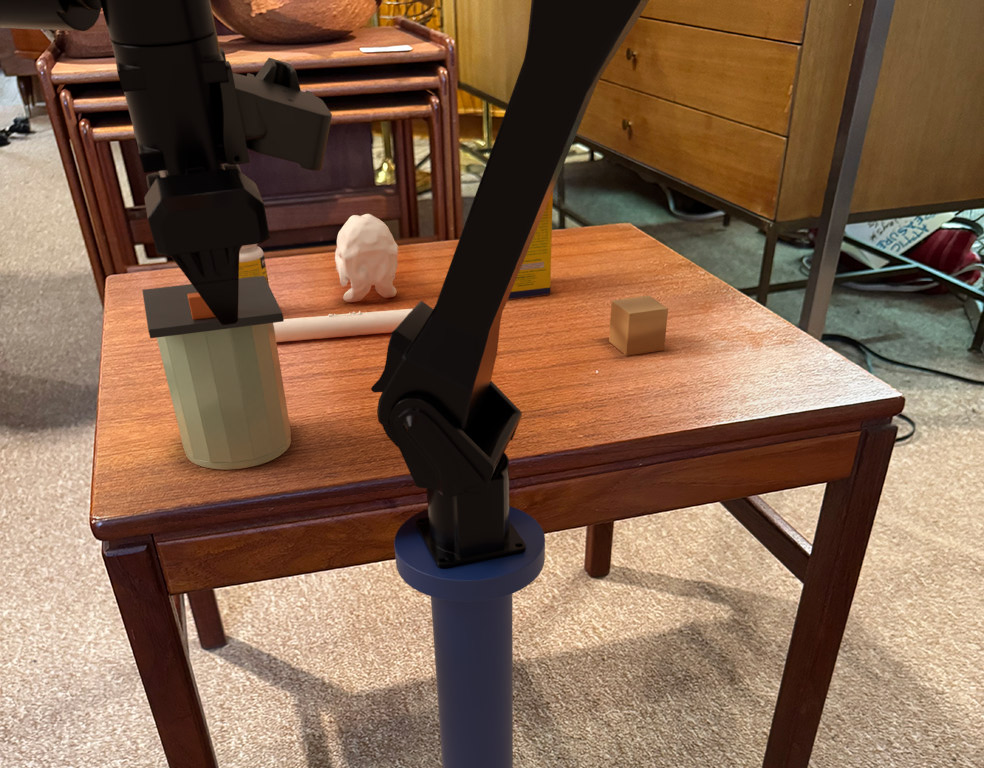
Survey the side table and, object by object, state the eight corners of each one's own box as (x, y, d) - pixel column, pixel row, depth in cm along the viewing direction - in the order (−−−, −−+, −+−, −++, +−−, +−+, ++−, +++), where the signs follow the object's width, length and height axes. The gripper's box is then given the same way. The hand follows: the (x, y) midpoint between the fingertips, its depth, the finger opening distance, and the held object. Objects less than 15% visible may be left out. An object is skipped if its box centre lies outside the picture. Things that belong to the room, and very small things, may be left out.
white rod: (441, 324, 96) (439, 300, 94) (444, 331, 94) (443, 307, 93) (263, 339, 93) (259, 315, 92) (263, 346, 92) (259, 322, 90)
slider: (284, 321, 65) (279, 290, 64) (150, 338, 63) (142, 307, 61) (265, 283, 72) (260, 254, 70) (144, 297, 69) (136, 268, 68)
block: (664, 350, 89) (668, 308, 87) (626, 356, 88) (629, 313, 86) (645, 336, 92) (649, 295, 90) (608, 341, 91) (611, 300, 89)
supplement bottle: (278, 317, 98) (265, 232, 93) (234, 324, 97) (217, 238, 91) (266, 303, 102) (253, 221, 96) (223, 310, 100) (207, 227, 95)
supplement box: (483, 284, 105) (481, 178, 99) (533, 279, 107) (534, 173, 100) (499, 301, 101) (498, 191, 94) (551, 295, 102) (554, 186, 96)
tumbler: (299, 459, 73) (277, 317, 66) (189, 477, 71) (154, 333, 64) (282, 416, 79) (260, 282, 72) (181, 431, 77) (148, 296, 70)
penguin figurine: (337, 221, 94) (316, 206, 104) (348, 309, 99) (327, 287, 108) (398, 215, 96) (372, 200, 105) (406, 302, 100) (380, 280, 110)
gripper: (340, 61, 47) (373, 351, 58) (283, -11, 59) (319, 239, 71) (111, 83, 45) (191, 381, 56) (101, 4, 57) (168, 260, 68)
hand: (225, 307), depth 63 cm, fingers open, 4 cm apart
